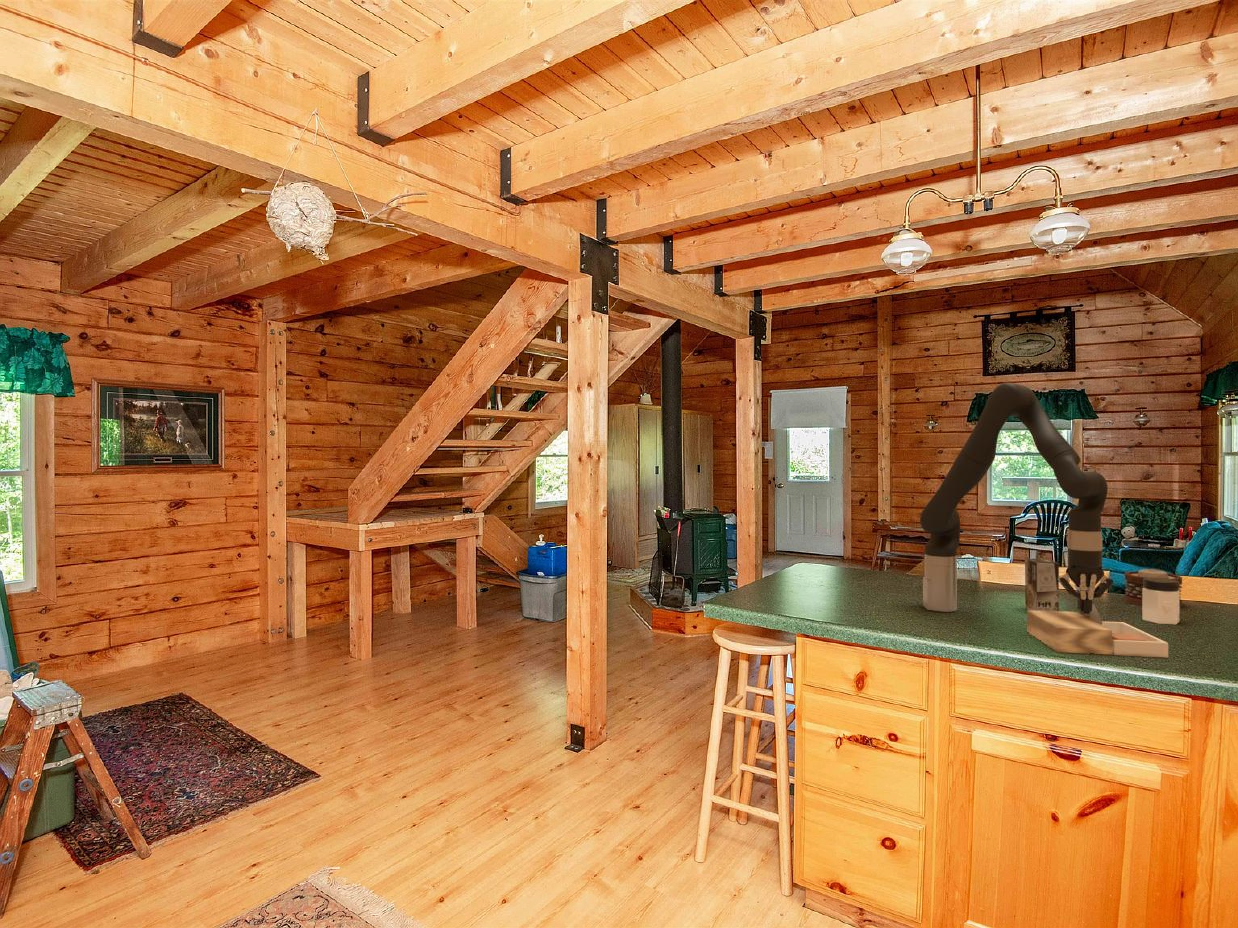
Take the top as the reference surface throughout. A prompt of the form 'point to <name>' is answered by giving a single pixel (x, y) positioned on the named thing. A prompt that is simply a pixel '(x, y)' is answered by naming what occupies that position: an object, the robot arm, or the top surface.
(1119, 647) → the box
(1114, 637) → the terracotta tile
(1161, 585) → the jar
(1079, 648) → the board
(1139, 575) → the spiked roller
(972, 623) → the top surface
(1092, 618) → the slate tile
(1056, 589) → the coffee box
